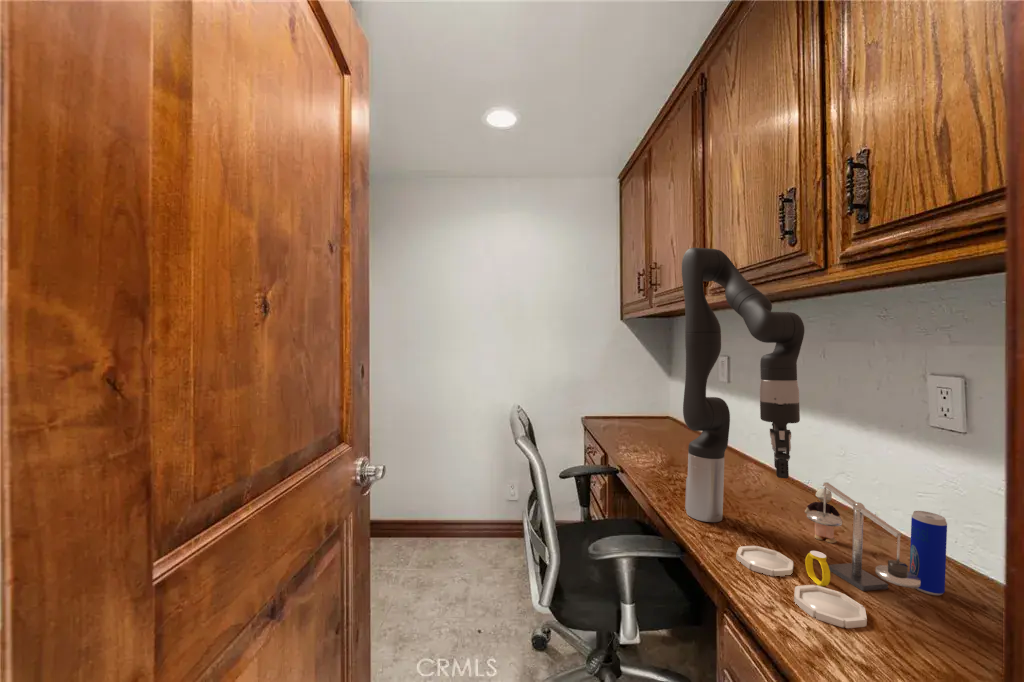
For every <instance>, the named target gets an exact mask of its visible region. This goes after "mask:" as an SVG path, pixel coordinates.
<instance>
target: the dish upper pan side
mask: <svg viewBox="0 0 1024 682" xmlns="http://www.w3.org/2000/svg"><path fill="white" fill-rule="evenodd" d="M735 555H736V557H735V559H736V561H738V562H739V563H740V562H741V563H740V564H741V565H743V566H744V567H746V568H747V569H748V570H750V571H753V572H755V573H759V574H762V573H763V574H762V575H765V576H766V575H767V576H769V575H770V576H769V577H774V576H780V577H786V576H785V575H791V574H792V573H793V571H794V561H793V560H792V559H790V558H789V557H787V556H786V555H784V554H782V553H781V552H779V551H777V550H775V549H770V548H767V547H763V546H760V545H759V546H758V545H742V546H739V547H738V548H737V551H736V554H735ZM792 575H793V574H792ZM792 575H791V576H792Z"/></svg>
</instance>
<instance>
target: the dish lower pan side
mask: <svg viewBox="0 0 1024 682" xmlns="http://www.w3.org/2000/svg"><path fill="white" fill-rule="evenodd" d="M793 595H794V596H793V603H794V602H795V603H794V604H795V605H796V604H797V605H798V606H799V607H798V606H797V605H796V606H797V607H798V608H800V609H801V610H802V611H804V612H805V613H806V614H807V615H809V616H810V617H812V618H815V617H816V618H815V620H817V621H821V622H824V623H827V624H830V625H832V626H833V625H834V626H835V627H839V628H842V629H844V628H846V629H854V628H865V627H867V625H868V623H867V622H868V618H867V613H866V607H864V605H863V604H860V603H859V602H857V601H856V600H854V599H853V598H851V597H850V596H848V595H847V594H845V593H842V592H841V591H837V590H834V589H831V588H827V587H825V586H818V585H817V584H804V585H796V586H794V594H793Z"/></svg>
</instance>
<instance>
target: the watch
mask: <svg viewBox="0 0 1024 682" xmlns="http://www.w3.org/2000/svg"><path fill="white" fill-rule="evenodd" d="M805 556H806V557H805V561H804V563H805V564H804V565H805V571H806V573H807V575H808V578H809V577H810V578H811V579H812V580H813V581H812V580H811V579H810V578H809V579H810V580H811V581H812V582H813V583H815V585H818V586H821V587H827V586H829V584H830V582H831V571H830V570H829V566H828V565H829V564H828V562H827V555H826V554H825V553H823V552H820V551H818V550H810V551H809V552H808V553H807V555H805ZM814 560H817V561H818V563H819V564H820V568H821V571H822V572H821V573H822V574H821V575H822V576H821V577H822V578H821V580H820V579H819V578H818V577H817V575H816V573H815V571H814Z"/></svg>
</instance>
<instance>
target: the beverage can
mask: <svg viewBox="0 0 1024 682" xmlns="http://www.w3.org/2000/svg"><path fill="white" fill-rule="evenodd" d="M910 520H911V521H910V522H911V523H910V524H911V525H910V546H909V547H910V549H909V550H910V551H909V552H910V553H909V555H910V556H909V572H910V573H912V574H914V575H916V576H917V577H918V578H919V579H920V580H921V585H920V587H918V588H914V589H916V590H917V591H919V592H921V593H924V594H926V595H930V596H938V597H939V596H942V595H943V594H944V593H945V592H946V567H947V564H946V563H947V541H948V539H947V538H948V537H947V536H948V523H947V519H946V517H944V516H942V515H940V514H936V513H934V512H930V511H924V510H914V511H913V513H912V515H911V518H910Z"/></svg>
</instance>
